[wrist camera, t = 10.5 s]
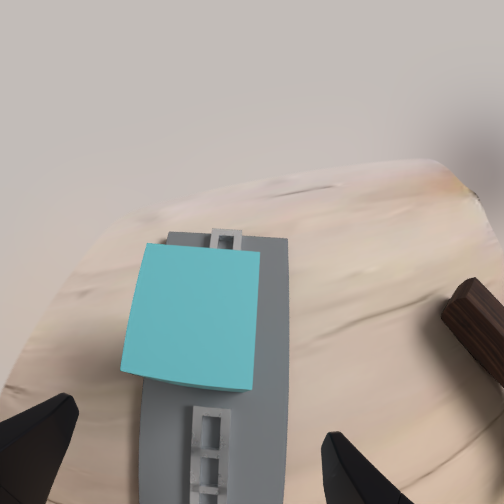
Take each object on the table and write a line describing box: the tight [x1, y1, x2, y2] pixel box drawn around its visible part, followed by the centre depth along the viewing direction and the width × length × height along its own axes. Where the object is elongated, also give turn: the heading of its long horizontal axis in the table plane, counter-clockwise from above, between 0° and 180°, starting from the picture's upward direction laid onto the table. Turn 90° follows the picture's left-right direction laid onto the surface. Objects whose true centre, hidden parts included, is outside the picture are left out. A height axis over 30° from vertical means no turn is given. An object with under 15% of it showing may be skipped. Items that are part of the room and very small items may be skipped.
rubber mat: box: [139, 232, 289, 504], centre depth 17 cm, size 24×10×1 cm, turn 178°
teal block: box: [120, 243, 260, 392], centre depth 13 cm, size 4×4×11 cm
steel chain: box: [190, 228, 242, 504], centre depth 17 cm, size 23×2×1 cm, turn 178°
